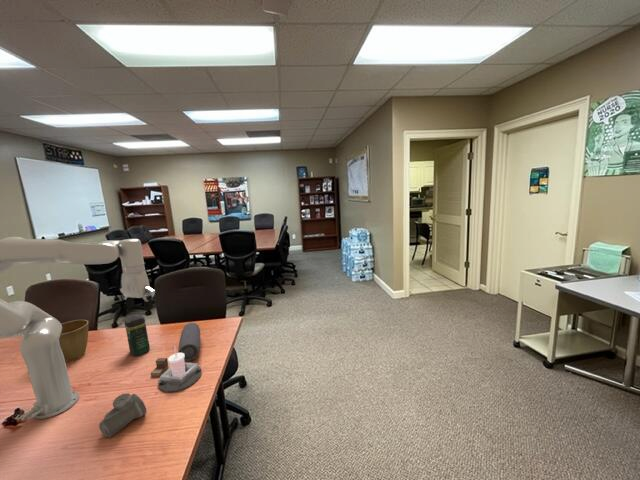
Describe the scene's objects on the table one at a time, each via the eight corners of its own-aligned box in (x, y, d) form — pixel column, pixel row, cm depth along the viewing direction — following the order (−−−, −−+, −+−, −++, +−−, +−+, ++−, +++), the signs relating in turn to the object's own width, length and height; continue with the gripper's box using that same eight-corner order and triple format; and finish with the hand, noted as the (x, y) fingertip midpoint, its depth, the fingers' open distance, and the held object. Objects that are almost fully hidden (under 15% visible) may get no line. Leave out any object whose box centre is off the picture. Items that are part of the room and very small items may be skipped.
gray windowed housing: (183, 394, 106) (181, 385, 105) (149, 389, 110) (147, 380, 110) (209, 368, 121) (208, 360, 121) (178, 364, 125) (177, 356, 125)
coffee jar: (152, 350, 138) (146, 315, 135) (134, 358, 132) (127, 322, 129) (145, 344, 144) (139, 310, 141) (128, 351, 139) (121, 316, 135)
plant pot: (46, 364, 131) (38, 332, 128) (81, 346, 145) (74, 318, 142) (68, 368, 127) (60, 336, 124) (101, 350, 141) (95, 321, 138)
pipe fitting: (137, 406, 101) (130, 384, 98) (150, 415, 97) (142, 393, 94) (99, 434, 91) (90, 411, 88) (111, 446, 87) (102, 422, 84)
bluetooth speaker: (201, 360, 128) (198, 340, 126) (178, 366, 124) (175, 345, 123) (202, 337, 148) (199, 319, 147) (183, 341, 145) (180, 323, 143)
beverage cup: (190, 374, 117) (186, 343, 114) (177, 383, 111) (171, 351, 109) (181, 370, 120) (177, 340, 117) (168, 378, 115) (162, 347, 112)
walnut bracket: (160, 377, 118) (158, 366, 117) (151, 377, 118) (149, 366, 117) (168, 368, 124) (167, 358, 123) (160, 368, 124) (158, 358, 123)
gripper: (108, 270, 112) (115, 310, 115) (142, 272, 107) (148, 314, 110) (126, 266, 119) (132, 303, 122) (158, 267, 114) (163, 306, 117)
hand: (139, 308), depth 116 cm, fingers open, 9 cm apart
